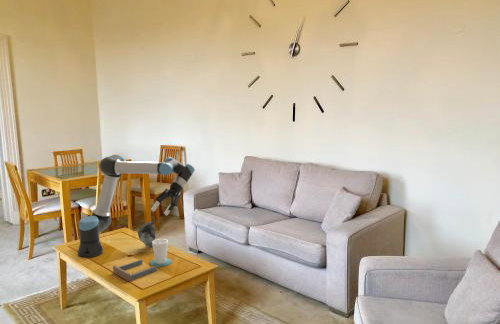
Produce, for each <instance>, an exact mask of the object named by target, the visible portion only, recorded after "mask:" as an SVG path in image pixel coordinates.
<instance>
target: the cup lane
mask: <svg viewBox="0 0 500 324" xmlns="http://www.w3.org/2000/svg"><path fill="white" fill-rule="evenodd" d="M142 264H143V259H138V260H135V261H132V262H129V263H126V264H121V265H119V266H117V265H113V266H112V271H113V274H115V275H116V276H118V277H120V278H122V279H124V280H126V281H127V282H130V281H133V280H135V279H138V278H140V277H143V276H146V275H149V274H152V273H154V272H157V268H158V267H156V266H154V267H153V266H151V267H149V268H145V269H143V270H140V271H138V272H136V273H132V274H131V273H130V272H128V271H126V270H128V269H131V268H134V267H137V266H140V265H142Z"/></svg>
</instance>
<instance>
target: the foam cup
mask: <svg viewBox="0 0 500 324" xmlns="http://www.w3.org/2000/svg"><path fill="white" fill-rule="evenodd" d="M152 246H153V247H152V249H153V258H154V259H155V262H156V263H157V264H163V263H165V262H166V258H168V246H169V240H168V239H167V238H158V239H156V238H155V240H154V241H152Z"/></svg>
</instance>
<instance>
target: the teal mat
mask: <svg viewBox="0 0 500 324" xmlns="http://www.w3.org/2000/svg"><path fill="white" fill-rule="evenodd" d="M172 261H173V260H172V259H170V258H168V257H167V258H166V262H165V263H163V264H157V263H156V262H155V258H154V259H152V260H150V262H149V266H151V267H154V266H156V267H157V268H163V267H164V268H165V267H167V266H170V265H171V264H172Z"/></svg>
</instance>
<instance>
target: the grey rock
mask: <svg viewBox="0 0 500 324" xmlns="http://www.w3.org/2000/svg"><path fill="white" fill-rule="evenodd" d="M158 220H159V219H156V220H153V221H148V222H145V223H144V224H143V225H142V227H140V228H139V230H138V231H137V236H138V239H139V240H140V241H141V242H142V243H143V244H144V245H145V247H144V248H145V250H147V251H148V250H151V248H153V246H152V241H154V240H156V232H155V230H157V231H158V229H157V228H156V227H155V225H154V224H155V223H157V221H158Z"/></svg>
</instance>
